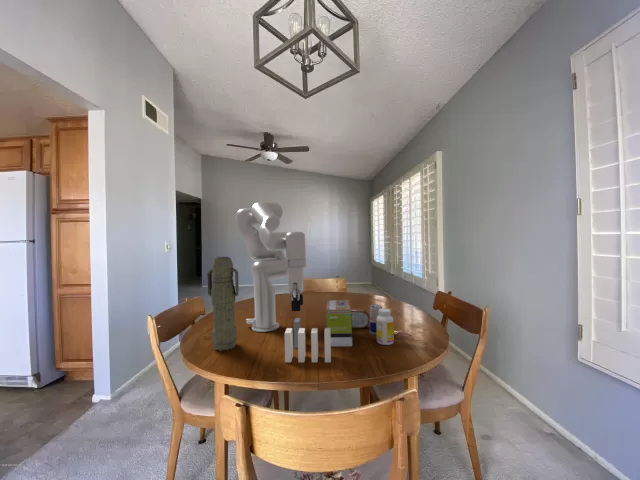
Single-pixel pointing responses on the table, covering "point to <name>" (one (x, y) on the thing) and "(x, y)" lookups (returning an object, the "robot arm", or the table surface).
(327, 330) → the domino
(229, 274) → the thermos
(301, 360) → the domino
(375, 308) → the energy drink
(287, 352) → the domino
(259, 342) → the table surface
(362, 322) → the tin
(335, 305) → the tea box
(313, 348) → the domino
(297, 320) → the domino
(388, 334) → the supplement bottle
